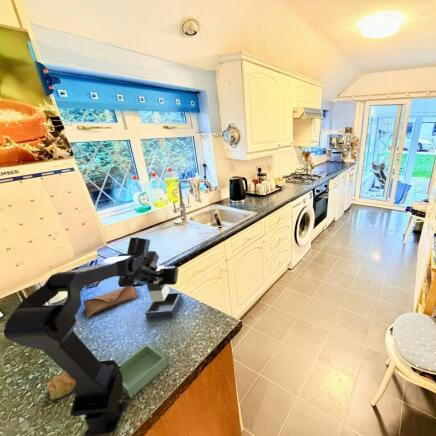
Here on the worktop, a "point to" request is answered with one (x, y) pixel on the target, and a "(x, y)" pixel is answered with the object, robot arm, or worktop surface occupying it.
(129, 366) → the front tote
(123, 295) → the sunglasses case
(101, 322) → the worktop surface
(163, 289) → the package
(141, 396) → the worktop surface
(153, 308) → the tray
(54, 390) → the pastry
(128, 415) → the worktop surface
